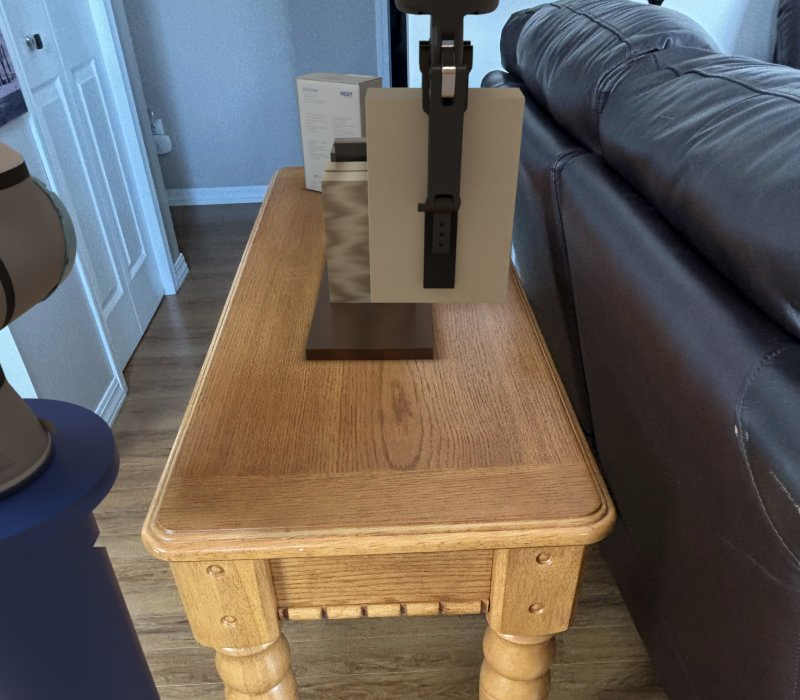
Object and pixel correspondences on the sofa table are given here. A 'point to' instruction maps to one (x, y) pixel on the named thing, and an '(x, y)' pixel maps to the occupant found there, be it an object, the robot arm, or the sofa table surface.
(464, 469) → the sofa table surface
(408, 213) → the cream box
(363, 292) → the beige block on plinth
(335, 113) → the hard drive box
